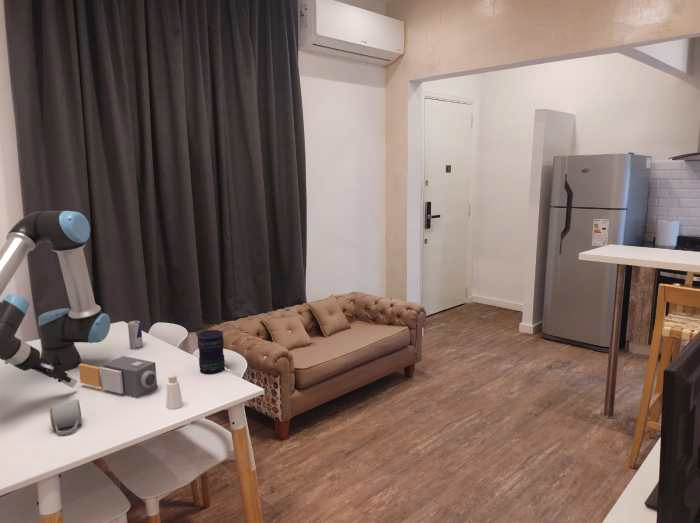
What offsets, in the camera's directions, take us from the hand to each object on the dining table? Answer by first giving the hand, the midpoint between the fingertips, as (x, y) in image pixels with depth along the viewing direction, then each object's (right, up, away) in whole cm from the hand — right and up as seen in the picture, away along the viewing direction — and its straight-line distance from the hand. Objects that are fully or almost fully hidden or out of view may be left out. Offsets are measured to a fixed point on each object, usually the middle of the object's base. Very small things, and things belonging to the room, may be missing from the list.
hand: (74, 383), depth 180 cm
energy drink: (+3, +5, +46) cm, 46 cm away
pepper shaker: (+40, -5, -10) cm, 41 cm away
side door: (+9, -2, +2) cm, 10 cm away
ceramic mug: (+11, -8, -24) cm, 27 cm away
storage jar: (+44, +1, +21) cm, 49 cm away
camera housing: (+20, -3, +3) cm, 21 cm away
